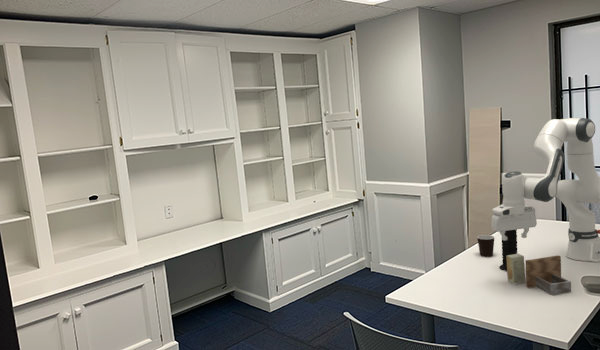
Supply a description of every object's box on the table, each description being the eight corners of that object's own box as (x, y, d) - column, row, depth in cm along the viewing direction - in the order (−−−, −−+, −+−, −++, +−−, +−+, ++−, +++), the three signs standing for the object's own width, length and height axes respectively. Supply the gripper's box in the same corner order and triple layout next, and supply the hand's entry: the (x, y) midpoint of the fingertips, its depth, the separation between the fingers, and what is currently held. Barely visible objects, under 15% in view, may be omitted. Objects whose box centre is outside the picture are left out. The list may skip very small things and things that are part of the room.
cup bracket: (558, 281, 203) (558, 255, 202) (578, 290, 192) (578, 263, 191) (526, 286, 201) (525, 260, 199) (544, 296, 190) (543, 268, 188)
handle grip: (501, 271, 221) (524, 271, 219) (499, 218, 218) (522, 217, 215) (497, 264, 231) (518, 264, 228) (495, 213, 227) (516, 212, 225)
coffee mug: (492, 258, 240) (491, 240, 239) (475, 256, 246) (475, 238, 244) (498, 252, 249) (497, 234, 248) (482, 250, 255) (481, 233, 253)
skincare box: (519, 278, 210) (518, 253, 209) (525, 282, 206) (524, 255, 205) (506, 281, 209) (505, 255, 208) (512, 284, 205) (511, 257, 204)
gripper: (530, 204, 208) (530, 234, 210) (488, 209, 205) (489, 239, 207) (539, 207, 202) (540, 237, 204) (497, 212, 199) (498, 243, 200)
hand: (514, 238), depth 205 cm, fingers open, 8 cm apart
